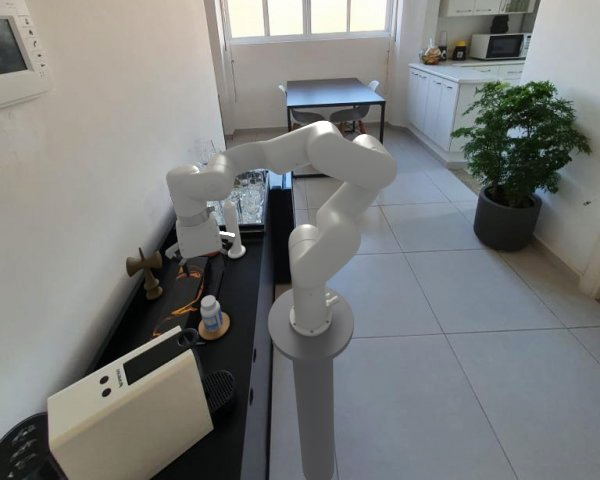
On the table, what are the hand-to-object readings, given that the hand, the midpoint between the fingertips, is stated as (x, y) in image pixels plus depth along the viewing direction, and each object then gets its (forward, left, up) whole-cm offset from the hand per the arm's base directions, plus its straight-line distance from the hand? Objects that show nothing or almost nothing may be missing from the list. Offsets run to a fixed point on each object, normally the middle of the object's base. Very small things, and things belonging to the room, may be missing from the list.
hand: (207, 268), depth 82 cm
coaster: (+1, -1, -23) cm, 23 cm away
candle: (-16, -28, -23) cm, 40 cm away
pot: (-8, -36, -23) cm, 43 cm away
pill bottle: (+1, -1, -22) cm, 22 cm away
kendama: (+14, -24, -23) cm, 36 cm away
